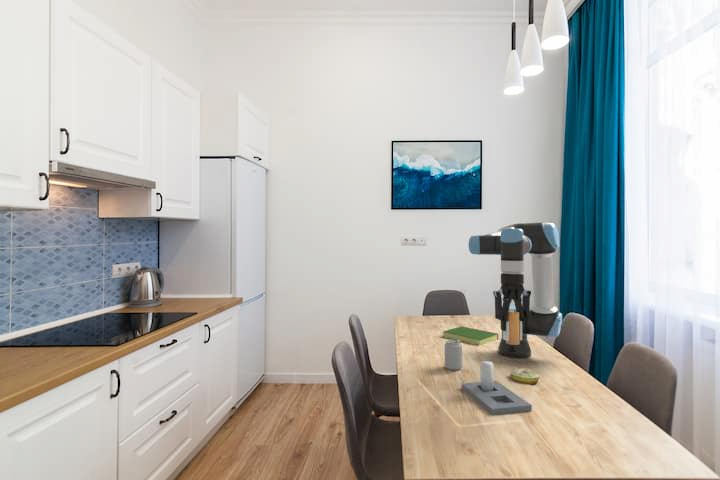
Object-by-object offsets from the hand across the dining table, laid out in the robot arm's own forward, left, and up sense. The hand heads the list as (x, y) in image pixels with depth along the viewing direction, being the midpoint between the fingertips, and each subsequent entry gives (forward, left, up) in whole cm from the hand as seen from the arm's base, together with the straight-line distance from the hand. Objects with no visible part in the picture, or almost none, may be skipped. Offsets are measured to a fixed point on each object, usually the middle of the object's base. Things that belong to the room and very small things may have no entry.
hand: (512, 339), depth 132 cm
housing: (+6, -2, -22) cm, 23 cm away
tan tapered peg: (0, 0, -1) cm, 1 cm away
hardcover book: (-24, -81, -23) cm, 88 cm away
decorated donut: (-16, -17, -22) cm, 33 cm away
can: (+6, -36, -22) cm, 43 cm away
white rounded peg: (+6, -7, -21) cm, 23 cm away
